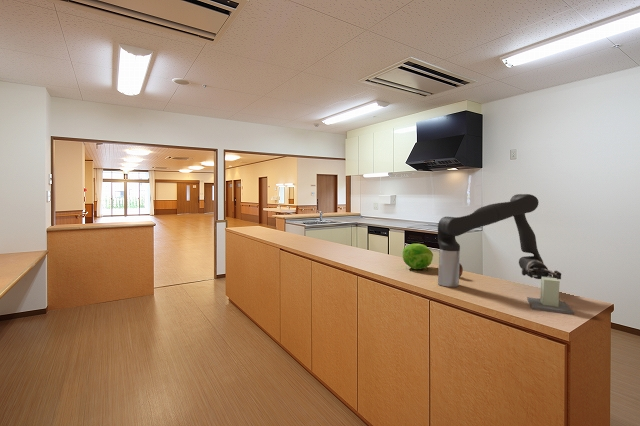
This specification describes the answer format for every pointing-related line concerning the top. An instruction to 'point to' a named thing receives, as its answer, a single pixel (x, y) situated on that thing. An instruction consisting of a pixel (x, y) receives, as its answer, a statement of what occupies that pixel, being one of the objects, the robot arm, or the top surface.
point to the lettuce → (417, 256)
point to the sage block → (549, 291)
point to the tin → (460, 269)
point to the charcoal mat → (537, 305)
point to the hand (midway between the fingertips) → (543, 276)
